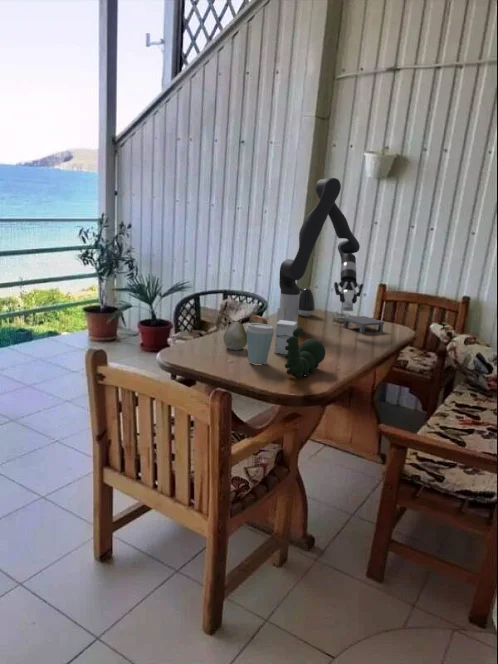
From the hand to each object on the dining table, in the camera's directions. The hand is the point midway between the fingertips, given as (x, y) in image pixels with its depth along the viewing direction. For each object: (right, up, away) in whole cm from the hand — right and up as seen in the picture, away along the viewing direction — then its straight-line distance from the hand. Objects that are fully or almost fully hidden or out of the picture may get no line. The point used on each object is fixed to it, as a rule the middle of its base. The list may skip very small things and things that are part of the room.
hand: (348, 302), depth 236 cm
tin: (-42, -15, -2) cm, 45 cm away
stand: (+11, -13, +18) cm, 24 cm away
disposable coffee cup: (-43, -26, -46) cm, 68 cm away
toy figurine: (-27, -29, -54) cm, 67 cm away
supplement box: (-32, -22, -30) cm, 49 cm away
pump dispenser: (-16, -5, +44) cm, 47 cm away
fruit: (-52, -21, -29) cm, 63 cm away
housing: (0, -4, +3) cm, 5 cm away
